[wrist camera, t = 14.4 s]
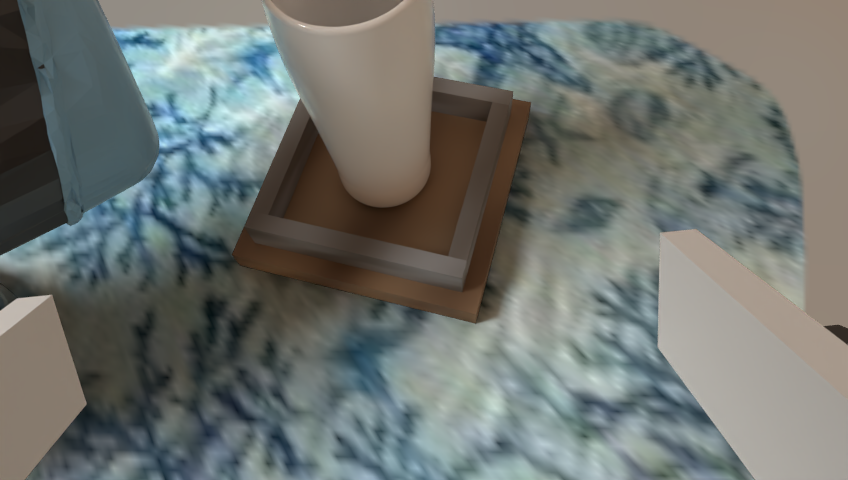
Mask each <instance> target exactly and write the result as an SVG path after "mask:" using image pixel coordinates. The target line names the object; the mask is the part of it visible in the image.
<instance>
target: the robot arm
mask: <svg viewBox="0 0 848 480" xmlns="http://www.w3.org/2000/svg"><path fill="white" fill-rule="evenodd" d="M158 154H159V136H158V132H157V130H156V127H155V124H154V122H153V119H152V117H151V115H150V112H149V110H148V108H147V106H146V103H145V101H144V99H143V97H142V94H141V92H140V90H139V88H138V86H137V83H136V81H135V79H134V77H133V75H132V72H131V70H130V68H129V66H128V64H127V61H126V59H125V57H124V55H123V53H122V51H121V48H120V46H119V44H118V42H117V40H116V37H115V35H114V33H113V31H112V29H111V27H110V25H109V23H108V20H107V18H106V16H105V14H104V12H103V10H102V8H101V6H100V3H99V1H98V0H0V255H2V254H4V253H7V252H9V251H11V250H13V249H15V248H17V247H19V246H21V245H23V244H25V243H27V242H29V241H31V240H33V239H35V238H37V237H39V236H41V235H43V234H45V233H47V232H49V231H51V230H53V229H55V228H57V227H59V226H61V225H63V224H65V223H67V224H68V225H70V226H71V225H74V224H76V223H78V222H79V221H80V220H81V219H82V217H83V214H84V213H85V212H87V211H88V210H90V209H92V208H94V207H96V206H97V205H99V204H101V203H103V202H105V201H106V200H108V199H110V198H112V197H114V196H115V195H117V194H119V193H121V192H123V191H125V190H126V189H128V188H130V187H132V186H134V185H135V184H137V183H139V182H140V181H141V180H143V179H144V178H145V177H146V176H147V175H148V174H149V173H150V172H151V170H152V168H153V166H154V164H155V162H156V159H157V157H158ZM658 348H659V349H660V351H661V352H662V354H663V355H664V356H665V358H666V359H667V360H668V362H669V363H670V364H671V366H672V367H673V369H674V370H675V371H676V373H677V374H678V375H679V377H680V378H681V379H682V381H683V382H684V383H685V385H686V386H687V388H688V389H689V390H690V392H691V393H692V394H693V396H694V397H695V398H696V400H697V401H698V402H699V404H700V405H701V407H702V408H703V409H704V411H705V412H706V413H707V415H708V416H709V417H710V419H711V420H712V422H713V423H714V424H715V426H716V427H717V428H718V430H719V431H720V432H721V434H722V435H723V436H724V438H725V439H726V441H727V442H728V443H729V445H730V446H731V447H732V449H733V450H734V451H735V453H736V454H737V455H738V457H739V458H740V460H741V461H742V462H743V464H744V465H745V466H746V468H747V469H748V470H749V472H750V473H751V475H752V476H753V477H754V479H755V480H848V328H845V327H843V326H840V325H832V326H822V325H821V324H819V323H818V322H817V321H816V320H814V319H813V318H812V317H810V316H809V315H808V314H806V313H805V312H804V311H802V310H801V309H800V308H799V307H797V306H796V305H795V304H793V303H792V302H791V301H789V300H788V299H787V298H785V297H784V296H783V295H782V294H780V293H779V292H778V291H776V290H775V289H774V288H772V287H771V286H770V285H768V284H767V283H766V282H765V281H763V280H762V279H761V278H759V277H758V276H757V275H755V274H754V273H753V272H751V271H750V270H749V269H748V268H746V267H745V266H744V265H742V264H741V263H740V262H738V261H737V260H736V259H734V258H733V257H732V256H731V255H729V254H728V253H727V252H725V251H724V250H723V249H721V248H720V247H719V246H717V245H716V244H715V243H714V242H712V241H711V240H710V239H708V238H707V237H706V236H704V235H703V234H702V233H700V232H699V231H698V230H697V229H692V230H682V231H672V232H663V233H660V260H659V312H658ZM86 404H87V403H86V400H85V397H84V394H83V391H82V388H81V384H80V381H79V378H78V375H77V372H76V369H75V365H74V362H73V359H72V356H71V353H70V350H69V347H68V343H67V340H66V337H65V334H64V331H63V328H62V324H61V321H60V318H59V315H58V312H57V309H56V306H55V302H54V299H53V296H52V295H46V296H36V297H26V298H17V297H16V296H15V295H14V294H13V293H12V292H10V291H9V290H8V289H7V288H5V287H4V286H2V285H1V284H0V480H25V479H26V478H27V476H28V475H29V474H30V473H31V471H32V470H33V469H34V468H35V467H36V465H37V464H38V463H39V462H40V460H41V459H42V458H43V457H44V456H45V454H46V453H47V452H48V451H49V449H50V448H51V447H52V446H53V445H54V443H55V442H56V441H57V440H58V439H59V437H60V436H61V435H62V434H63V432H64V431H65V430H66V429H67V428H68V426H69V425H70V424H71V423H72V421H73V420H74V419H75V418H76V417H77V415H78V414H79V413H80V412H81V410H82V409H83V408H84V407H85V406H86Z"/></svg>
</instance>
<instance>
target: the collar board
mask: <svg viewBox="0 0 848 480" xmlns="http://www.w3.org/2000/svg"><path fill="white" fill-rule="evenodd" d="M530 105H531V102H526V101H520V100H515V99H513V91H508V90H502V89H497V88H492V87H486V86H481V85H475V84H470V83H464V82H459V81H454V80H448V79H443V78H437V77H434V79H433V95H432V113H431V134H430V154H431V171H430V175H429V178H428V180H427V183H426V184H425V186H424V188H423V189H422V190H421V191H420V192H419V193H418V194H417V195H416V196H415V197H414V198H413V199H411V200H409V201H408V202H406V203H404V204H401V205H398V206H395V207H389V208H377V207H371V206H368V205H365V204H363V203H361V202H359V201H357V200H356V199H354V198H353V197H352V196H351V195H350V194H349V193H348V192H347V191H346V189H345V188H344V186H343V185H342V182H341V180H340V177H339V174H338V172H337V169H336V166H335V164H334V162H333V160H332V158H331V156H330V154H329V152H328V150H327V148H326V146H325V145H324V143H323V141H322V139H321V137H320V135H319V133H318V131H317V129H316V127H315V125H314V123H313V121H312V119H311V117H310V116H309V114H308V112H307V110H306V108H305V106H304V104H303V102H302V100H301V98H300V100H299V102H298V105H297V107H296V109H295V111H294V114H293V116H292V118H291V121H290V123H289V125H288V127H287V130H286V132H285V134H284V137H283V139H282V141H281V143H280V146H279V148H278V150H277V153H276V155H275V157H274V159H273V162H272V164H271V166H270V169H269V171H268V173H267V175H266V178H265V180H264V182H263V185H262V187H261V189H260V191H259V194H258V196H257V198H256V201H255V203H254V205H253V207H252V210H251V212H250V214H249V217H248V219H247V221H246V223H245V226H244V228H243V230H242V233H241V235H240V237H239V239H238V242H237V244H236V246H235V249H234V251H233V253H232V256H233V257H234V258H235V259H236V261H237V262H238V263H239V264H240V265H241V266H245V267H249V268H253V269H257V270H261V271H265V272H269V273H273V274H277V275H281V276H285V277H290V278H294V279H298V280H302V281H306V282H310V283H314V284H318V285H322V286H326V287H330V288H334V289H338V290H342V291H346V292H350V293H354V294H358V295H362V296H367V297H371V298H375V299H379V300H383V301H387V302H391V303H395V304H399V305H403V306H407V307H411V308H415V309H419V310H423V311H427V312H431V313H435V314H439V315H444V316H448V317H452V318H456V319H460V320H464V321H468V322H472V323H476V321H477V317H478V313H479V309H480V305H481V301H482V298H483V294H484V290H485V286H486V282H487V278H488V274H489V270H490V266H491V262H492V259H493V255H494V251H495V247H496V243H497V239H498V235H499V231H500V227H501V223H502V220H503V216H504V212H505V208H506V204H507V200H508V196H509V192H510V188H511V184H512V181H513V177H514V173H515V169H516V165H517V161H518V157H519V153H520V149H521V145H522V142H523V138H524V134H525V130H526V126H527V122H528V118H529V112H530Z"/></svg>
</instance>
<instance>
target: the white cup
mask: <svg viewBox="0 0 848 480" xmlns="http://www.w3.org/2000/svg"><path fill="white" fill-rule="evenodd" d="M261 1H262V4H263V7H264V11H265V14H266V17H267V21H268V24H269V27H270V30H271V33H272V36H273V38H274V41H275V44H276V47H277V49H278V52H279V54H280V56H281V59H282V61H283V63H284V66H285V68H286V70H287V72H288V75H289V77H290V79H291V81H292V83H293V85H294V87H295V89H296V91H297V93H298V95H299V96H300V98H301V100H302V102H303V104H304V106H305V108H306V110H307V112H308V114H309V116H310V117H311V119H312V121H313V123H314V125H315V127H316V129H317V131H318V133H319V135H320V137H321V139H322V141H323V143H324V145H325V146H326V148H327V150H328V152H329V154H330V156H331V158H332V160H333V162H334V164H335V166H336V169H337V172H338V174H339V177H340V180H341V182H342V185H343V186H344V188H345V189H346V191H347V192H348V193H349V194H350V195H351V196H352V197H353V198H354V199H356V200H357V201H359V202H361V203H363V204H365V205H368V206H371V207H377V208H389V207H395V206H398V205H401V204H404V203H406V202H408V201H409V200H411V199H413V198H414V197H415V196H416V195H417V194H418V193H419V192H420V191H421V190H422V189H423V188H424V186H425V184H426V183H427V180H428V178H429V175H430V171H431V154H430V134H431V113H432V95H433V79H434V62H435V14H434V1H433V0H261Z"/></svg>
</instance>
